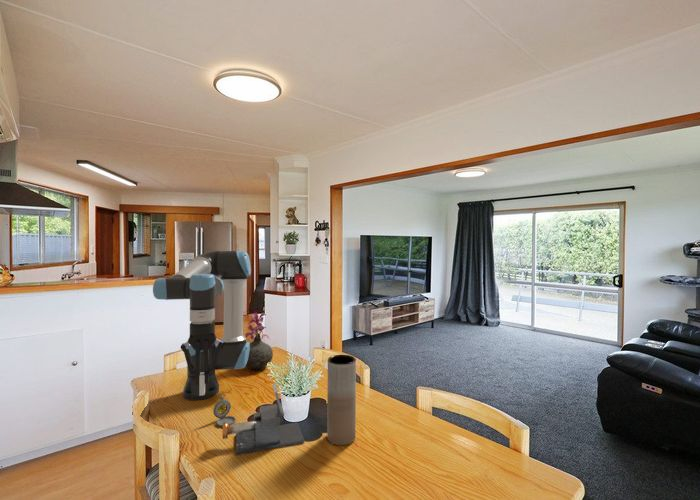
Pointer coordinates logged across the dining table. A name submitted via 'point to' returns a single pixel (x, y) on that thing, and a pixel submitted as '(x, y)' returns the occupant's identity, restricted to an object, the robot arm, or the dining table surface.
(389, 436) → the dining table surface
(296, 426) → the hitch block
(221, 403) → the pocket watch
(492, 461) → the dining table surface
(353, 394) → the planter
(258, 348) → the vase
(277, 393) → the keeper
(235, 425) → the pin
